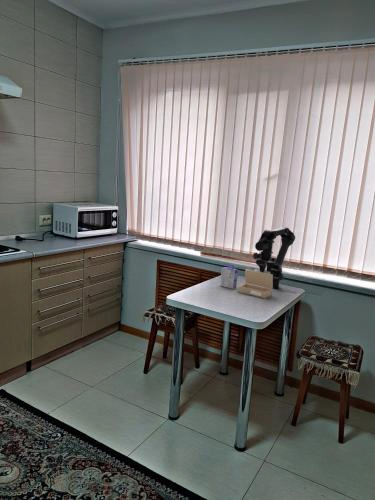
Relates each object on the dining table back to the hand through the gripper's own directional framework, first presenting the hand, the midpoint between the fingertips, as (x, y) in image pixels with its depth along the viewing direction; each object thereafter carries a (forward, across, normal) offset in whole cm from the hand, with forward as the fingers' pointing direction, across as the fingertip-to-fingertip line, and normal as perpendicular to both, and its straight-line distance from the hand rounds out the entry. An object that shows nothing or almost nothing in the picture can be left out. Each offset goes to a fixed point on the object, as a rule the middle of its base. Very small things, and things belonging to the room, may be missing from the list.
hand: (264, 273), depth 247 cm
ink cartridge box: (+11, +10, -20) cm, 25 cm away
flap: (+2, +9, 0) cm, 9 cm away
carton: (+11, +12, 0) cm, 16 cm away
